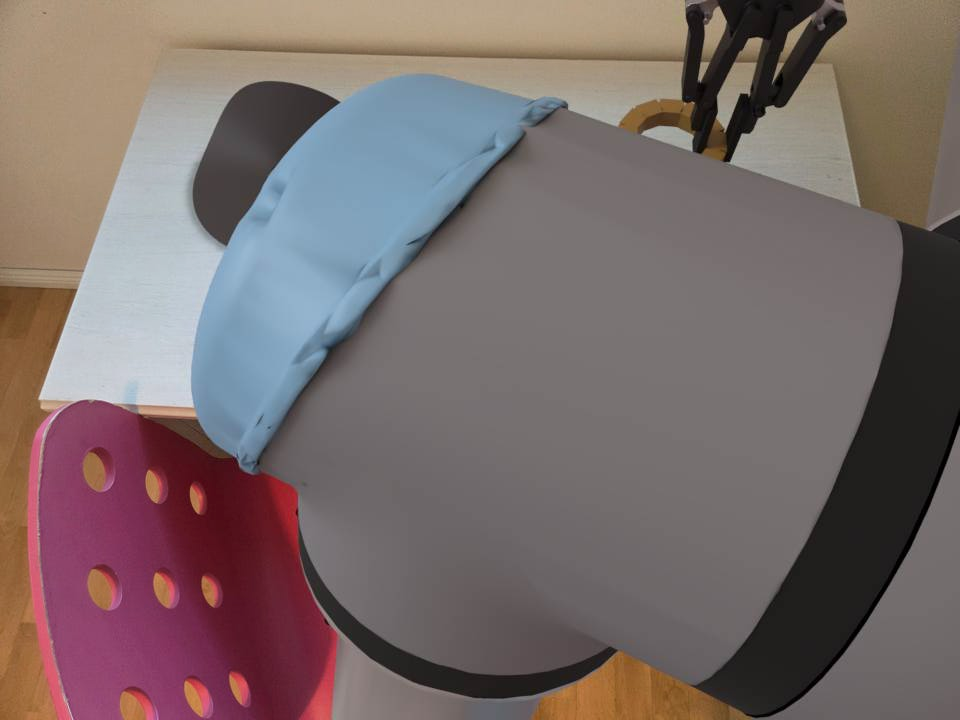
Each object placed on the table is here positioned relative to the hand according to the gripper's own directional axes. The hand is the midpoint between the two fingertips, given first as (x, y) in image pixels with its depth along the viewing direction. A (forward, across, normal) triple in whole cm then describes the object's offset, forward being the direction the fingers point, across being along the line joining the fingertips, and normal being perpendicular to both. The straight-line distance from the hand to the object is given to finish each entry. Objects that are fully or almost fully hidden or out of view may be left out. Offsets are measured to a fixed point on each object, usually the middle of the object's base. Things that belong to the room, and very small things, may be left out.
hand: (710, 151), depth 72 cm
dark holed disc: (+16, +51, -3) cm, 54 cm away
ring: (0, +4, 0) cm, 4 cm away
